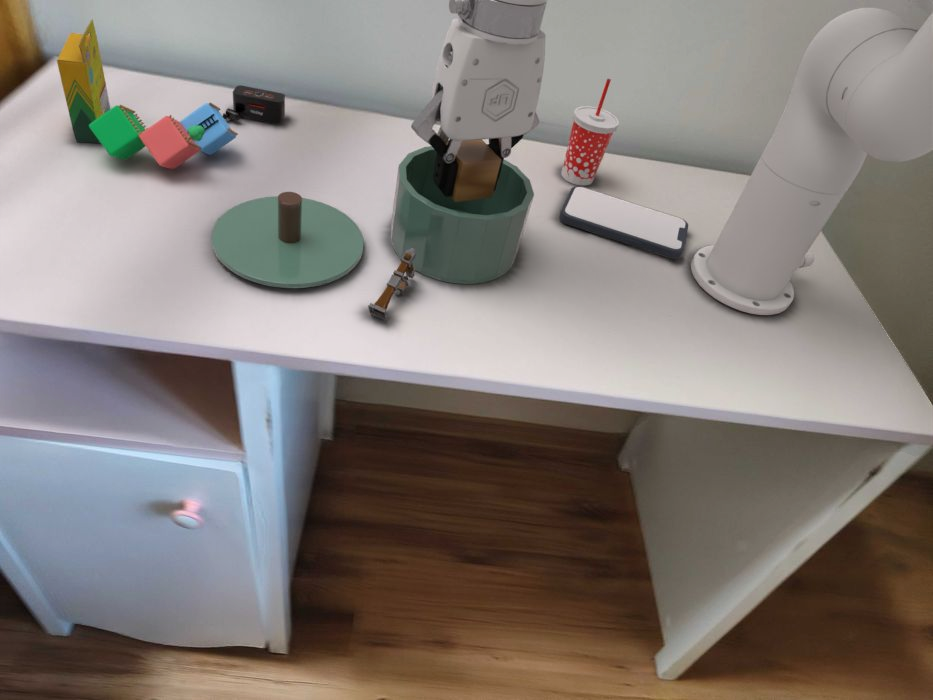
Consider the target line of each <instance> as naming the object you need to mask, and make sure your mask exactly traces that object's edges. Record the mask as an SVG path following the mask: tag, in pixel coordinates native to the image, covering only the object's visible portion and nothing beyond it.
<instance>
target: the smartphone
mask: <svg viewBox="0 0 933 700" xmlns="http://www.w3.org/2000/svg"><path fill="white" fill-rule="evenodd" d="M558 219H559V221H560V222H561V223H563V224H564V225H567V226H570V227H573V228H577V229H579V230H581V231H585V232H588V233H591V234H595V235H598V236H601V237H604V238H607V239H610V240H613V241H616V242H619V243H621V244H625V245H628V246H631V247H633V248H637V249H641V250H644V251H646V252H650V253H653V254H655V255H659V256H662V257H665V258H668V259H672V260H678V259H681V257H682V256H683V254H684V251H685V247H686V241H687V236H688V231H689V223H688V222H687V221H686V220H685V219H684V218H681V217H679V216H675V215H673V214H670V213H666V212H663V211H660V210H656V209H653V208H650V207H648V206H645V205H641V204H638V203H635V202H631V201H628V200H626V199H622V198H619V197H616V196H613V195H610V194H607V193H603V192H601V191H596V190H594V189H590V188H588V187H585V186H582V185H574V186H573V187H571V188H570V190H569V193H568V195H567V197H566V198H565V201H564V203H563V205H562V207H561V209H560V213H559V218H558Z"/></svg>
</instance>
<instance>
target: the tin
mask: <svg viewBox="0 0 933 700" xmlns="http://www.w3.org/2000/svg"><path fill="white" fill-rule="evenodd" d="M436 156H437V152H436V151H435V150H434V148H433V147H432V146H431V145H430V146H428V145H427V146H423V147H421V148H418V149H416V150H413V151H411V152H409V153H408V154H406V155H405V157H404V158H403V159H402V160H401V162H400V163H399V164H398V168H397V175H396V182H395V183H396V184H395V191H394V199H393V206H392V207H393V208H392V213H391V214H392V215H391V221H390V236H389V237H390V243H391V246H392V249H393V251H394V252H395V254H396V255H397V256H398V258H399V259H400V260H401V259H402V258H403V256H404V254H405V253H406V250H409V249H410V248H414V249H415V251H416V252H415V257H416V258H415V259H414V260H413V262H412V263H413V268H414V270H415V271H416V272H418V273H420V274H422V275H424V276H425V277H430V278H431V279H433V280H437V281H441V282H445V283H449V284H459V285H477V284H483V283H487V282H492V281H494V280H497V279H499V278H501V277H502V276H504V275H505V274H506V273H508V272H509V271H510V269H511V268H512V266H513V265H514V263H515V261H516V257H517V255H518V252H519V249H520V245H521V241H522V238H523V234H524V231H525V227H526V225H527V221H528V218H529V214H530V211H531V207H532V203H533V200H534V196H535V193H534V190H533V185H532V182H531V180H530V179H529V177H528V176H526V175H525V173H524V172H523V171H521V169H520V168H519V167H518V166H517V165H515V164H514V163H511V162H510V161H508V160H506V159H504V160H503V164H502V168H501V172H500V176H499V178H498V181H497V185H496V189H495V191H494V192H493V196H492V198H484V199H476V200H468V201H461V202H455V201H454V200H453V199H452V198H451V197H450V196H449V197H446V196H445V195H444V194H443V193H442V192H441V190H440V189H439V188H438V187H437V186H436V184H435V183H434V181H433V173H434V167H435V162H436Z"/></svg>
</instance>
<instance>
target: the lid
mask: <svg viewBox="0 0 933 700" xmlns="http://www.w3.org/2000/svg"><path fill="white" fill-rule="evenodd" d="M364 246H365V245H364V237H363V234H362V231H361V229H360V228H359V226H358V225H357V223H356V222H355V221H354V220H353V219H352V218H351V217H349V216H348V215H347V214H345V213H344V212H343V211H341V210H339V209H338V208H336V207H333V206H332V205H330V204H327V203H324V202H321V201H319V200H315V199H310V198H305V197H302V196H301V194H299V193H297V192H296V191H295V192H294V191H283V192H281V193H278V195H275V196H265V197H259V198H254V199H250V200H247V201H244V202H242V203H239V204H237V205H235V206H233V207H231V208H230V209H228V210H226V211H225V212H224V213H223V214H221V216H220V217H219V218H218V219H217V220H216V222H215V223H214V225H213V228H212V231H211V247H212V250H213V252H214V254H215V255H216V257H217V259H218V261H220V263H221V264H222V265H223V266H224V267H225V268H227V270H230V272H232V273H234V274H235V275H237V276H238V277H241V278H242V279H245V280H248V281H250V282H252V283H256V284H259V285H262V286H268V287H274V288H281V289H305V288H313V287H318V286H323V285H326V284H329V283H332V282H334V281H337V280H339V279H341V278H342V277H344V276H347V275H348V274H349V273H350V272H352V271H353V270H354V268H355V267H356V266H357V265H358V264H359V262H360V261H361V259H362V256H363V253H364Z"/></svg>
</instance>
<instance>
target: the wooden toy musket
mask: <svg viewBox="0 0 933 700" xmlns="http://www.w3.org/2000/svg"><path fill="white" fill-rule="evenodd" d="M415 252H416V251H415V249H414V248H410V249H409V250H406V253H405V254H404V256H403V258H402V259H400V263H399V264H398V267H397V268H396V269H395V270H394V271H392V272H393V274H391V276H390V278H389V280H388V281H387V283H386V287H385V288H384V290H383V292H382V293H381V295H379V296H378V299H377V300H376V301H375V302H374V303H371V302H370V303H369V304H368V305H367V308H368V311H369V312H368V313H369V314H370V315H372V316H374V317H376V318H379V319H381V320H384V321H386V322H387V318H388V314H387V309H388V307H389V304H390V303H391V300H392V297H393V295H394V294H395V295H396V296H401V294H402V295H404V294H405V293H404V292H405V290H406V288H407V287H408V288H409V280H410V279H413V278H414V276H415V273H416V272H415V271H416V270H414V268H413V263H412V262H413V260H414V259H415V258H416V257H415ZM409 278H410V279H409Z"/></svg>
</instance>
